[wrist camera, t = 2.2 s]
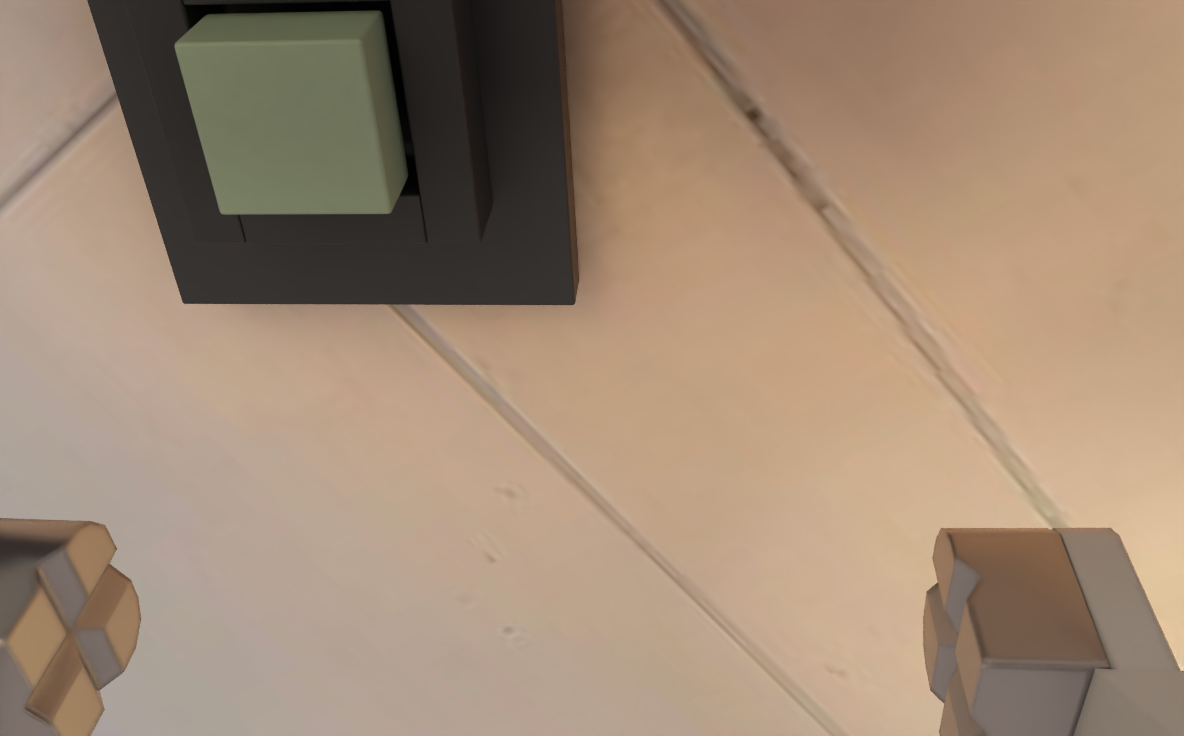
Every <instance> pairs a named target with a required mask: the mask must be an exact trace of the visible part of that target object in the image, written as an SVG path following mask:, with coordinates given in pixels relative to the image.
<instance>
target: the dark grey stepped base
mask: <svg viewBox="0 0 1184 736" xmlns="http://www.w3.org/2000/svg"><path fill="white" fill-rule="evenodd" d="M88 4H89V7H90V10H91V13H92V16H93V19H94V23H95V26H96V29H97V32H98V35H99V38H100V42H101V45H102V48H103V51H104V54H105V57H106V61H107V64H108V67H109V70H110V73H111V76H112V80H113V83H114V86H115V89H116V92H117V95H118V99H119V102H120V105H121V108H122V111H123V114H124V118H125V121H126V124H127V127H128V130H129V133H130V137H131V140H132V143H133V146H134V149H135V152H136V156H137V159H138V162H139V165H140V168H141V171H142V175H143V178H144V181H145V184H146V187H147V190H148V194H149V197H150V200H151V203H152V206H153V209H154V213H155V216H156V219H157V222H158V225H159V228H160V232H161V235H162V238H163V241H164V244H165V247H166V250H167V254H168V257H169V260H170V263H171V266H172V269H173V273H174V276H175V279H176V282H177V285H178V288H179V292H180V295H181V298H182V301H183V303H184V304H425V305H574V304H575V301H576V295H577V289H578V283H579V271H578V254H577V238H576V222H575V206H574V190H573V174H572V157H571V141H570V125H569V109H568V93H567V76H566V60H565V44H564V28H563V12H562V0H88ZM372 10H378V11H381V12H382V14H383V17H384V23H385V30H386V36H387V42H388V49H389V55H390V61H391V67H392V74H393V80H394V86H395V93H396V99H397V105H398V112H399V118H400V124H401V130H402V137H403V143H404V149H405V156H406V162H407V168H408V178H407V180H406V182H405V184H404V187H403V189H402V191H401V193H400V195H399V197H398V199H397V201H396V203H395V205H394V208H393V210H392V212H391V213H389V214H245V215H223V214H221V213H220V210H219V207H218V203H217V199H216V196H215V192H214V188H213V185H212V181H211V178H210V174H209V170H208V167H207V163H206V159H205V156H204V152H203V149H202V145H201V141H200V138H199V134H198V130H197V127H196V123H195V120H194V116H193V112H192V109H191V105H190V102H189V98H188V94H187V91H186V87H185V83H184V80H183V76H182V73H181V69H180V65H179V62H178V58H177V54H176V51H175V43H176V42H177V41H178V40H179V39H180V38H181V37H182V36H183V35H185V34H186V33H187V32H188V31H189V30H190V29H191V28H192V27H193V26H194V25H196V24H197V23H198V22H199V21H200V20H201V19H202V18H203V17H204V16H206V15H207V14H230V13H278V12H325V11H372Z"/></svg>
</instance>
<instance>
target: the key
mask: <svg viewBox="0 0 1184 736" xmlns="http://www.w3.org/2000/svg"><path fill="white" fill-rule="evenodd" d="M175 51H176V54H177V58H178V62H179V65H180V69H181V73H182V76H183V80H184V83H185V87H186V91H187V94H188V98H189V102H190V105H191V109H192V112H193V116H194V120H195V123H196V127H197V130H198V134H199V138H200V141H201V145H202V149H203V152H204V156H205V159H206V163H207V167H208V170H209V174H210V178H211V181H212V185H213V188H214V192H215V196H216V199H217V203H218V207H219V210H220V213H221V214H223V215H245V214H389V213H391V212H392V210H393V208H394V205H395V203H396V201H397V199H398V197H399V195H400V193H401V191H402V189H403V187H404V184H405V182H406V180H407V178H408V168H407V162H406V156H405V149H404V143H403V137H402V130H401V124H400V118H399V112H398V105H397V99H396V93H395V86H394V80H393V74H392V67H391V61H390V55H389V49H388V42H387V36H386V30H385V23H384V17H383V14H382V12H381V11H378V10H372V11H325V12H278V13H230V14H207V15H206V16H204V17H203V18H202V19H201V20H200V21H199V22H198V23H197V24H196V25H194V26H193V27H192V28H191V29H190V30H189V31H188V32H187V33H186V34H185V35H183V36H182V37H181V38H180V39H179V40H178V41H177V42H176V43H175Z"/></svg>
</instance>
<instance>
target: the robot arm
mask: <svg viewBox="0 0 1184 736" xmlns="http://www.w3.org/2000/svg"><path fill="white" fill-rule="evenodd" d="M116 550H117V548H116V546H115V544H114V542H113V540H112V538H111V536H110V534H109V532H108V530H107V528H106V526H105V525H103V524H99V523H95V522H92V521H68V520H39V519H9V518H0V736H91V734H92V732H93V730H94V729H95V727H96V725H97V723H98V721H99V719H100V717H101V715H102V713H103V711H104V710H105V709H104V705H103V702H102V698H101V694H100V690H101V689H102V688H103V687H105V686H106V685H107V684H109V683H110V682H111V681H113V680H114V679H115V678H117V677H118V676H119V675H121V674H122V673H123V672H124V671H125V669H126V667H127V665H128V663H129V661H130V659H131V657H132V655H133V653H134V651H135V649H136V645H137V639H138V634H139V628H140V622H141V614H140V606H139V599H138V595H137V593H136V591H135V588H134V586H133V584H132V581H131V580H130V579H129V578H128V577H126V576H125V575H124V574H122V573H121V572H120V571H118V570H117V569H116V568H114V567H113V566H112V565H110V562H111V560H112V558H113V556H114V554H115V552H116ZM933 562H934V567H935V571H936V575H937V580H938V583H936V584H935V585H934V586H933V587H932V588H931V589H929V590H928V591H927V594H926V601H925V609H924V616H923V647H924V655H925V664H926V670H927V675H928V680H929V685H930V690H931V692H933V693H934V694H935V695H936V696H937V697H938V698H939V699H940V700H941V701H942V702H943V703H944V709H943V714H942V720H941V725H940V730H939V733H940V736H1184V671H1180V668H1179V666H1178V664H1177V662H1176V660H1175V657H1174V655H1173V653H1172V651H1171V649H1170V646H1169V644H1168V642H1167V640H1166V638H1165V635H1164V633H1163V631H1162V629H1161V626H1160V624H1159V622H1158V620H1157V618H1156V615H1155V613H1154V611H1153V609H1152V607H1151V604H1150V602H1149V600H1148V598H1147V595H1146V593H1145V591H1144V589H1143V587H1142V584H1141V582H1140V580H1139V578H1138V576H1137V573H1136V571H1135V569H1134V567H1133V564H1132V562H1131V560H1130V558H1129V556H1128V553H1127V551H1126V549H1125V547H1124V545H1123V542H1122V540H1121V538H1120V536H1119V535H1118V534H1117V533H1116V532H1115V531H1113V530H1112V529H1111V528H1053V529H1052V530H1051V529H1048V528H941V529H940V532H939V534H938V536H937V538H936V542H935V547H934V553H933Z"/></svg>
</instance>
